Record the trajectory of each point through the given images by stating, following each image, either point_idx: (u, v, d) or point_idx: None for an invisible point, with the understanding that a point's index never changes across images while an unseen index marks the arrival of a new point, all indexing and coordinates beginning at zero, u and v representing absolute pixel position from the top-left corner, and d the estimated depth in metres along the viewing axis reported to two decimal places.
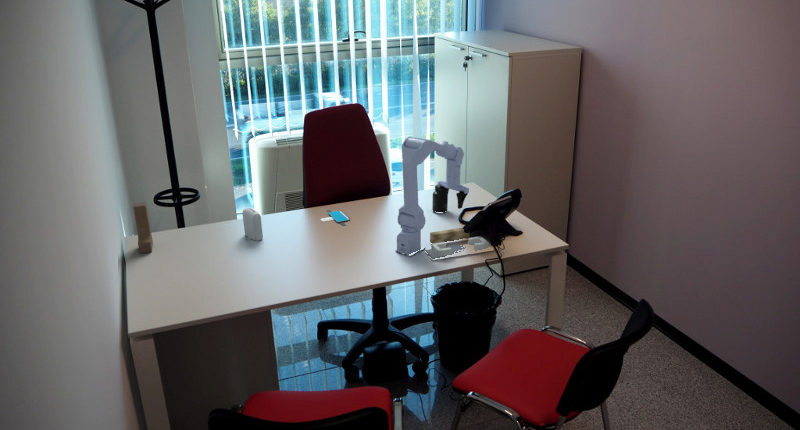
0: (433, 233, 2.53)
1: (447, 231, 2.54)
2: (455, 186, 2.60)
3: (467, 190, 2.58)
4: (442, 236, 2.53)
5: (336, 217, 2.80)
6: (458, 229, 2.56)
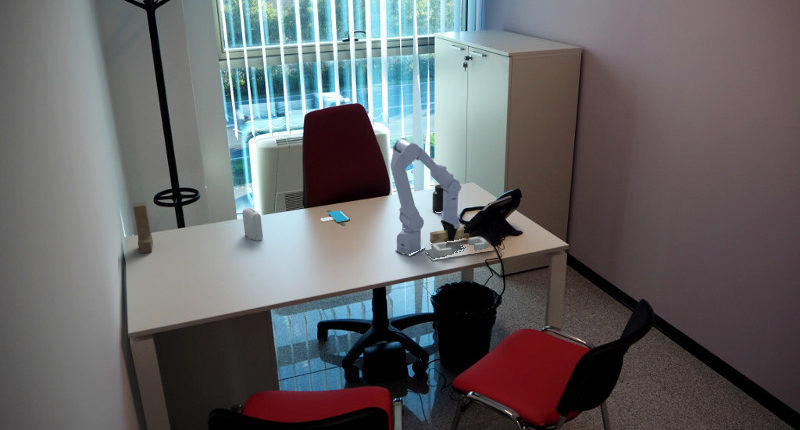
0: (433, 233, 2.53)
1: None
2: (448, 219, 2.50)
3: (457, 225, 2.47)
4: (442, 236, 2.53)
5: (336, 217, 2.80)
6: (458, 229, 2.56)
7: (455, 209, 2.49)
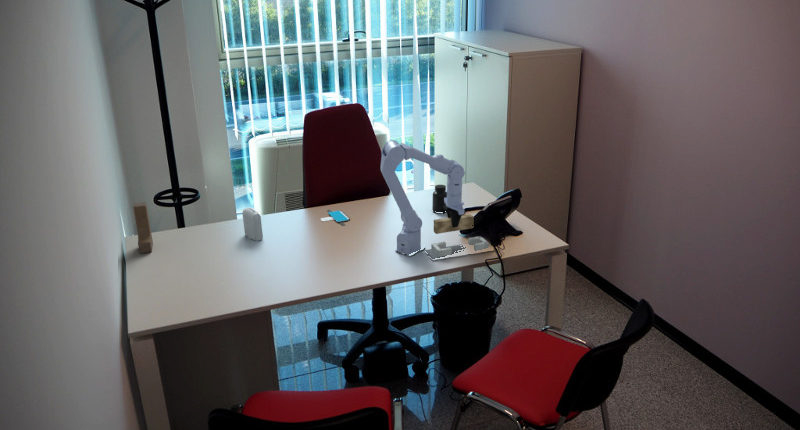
0: (437, 220, 2.47)
1: None
2: (452, 205, 2.44)
3: (461, 211, 2.41)
4: (446, 224, 2.48)
5: (336, 217, 2.80)
6: (462, 216, 2.51)
7: (459, 195, 2.44)
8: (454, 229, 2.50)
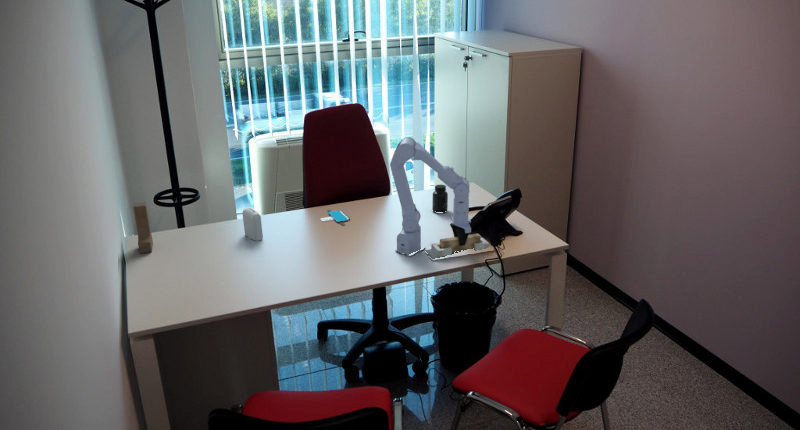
0: (443, 240, 2.44)
1: (457, 238, 2.45)
2: (459, 223, 2.40)
3: (468, 229, 2.37)
4: (452, 243, 2.44)
5: (336, 217, 2.81)
6: (469, 236, 2.47)
7: (466, 213, 2.40)
8: (460, 249, 2.46)
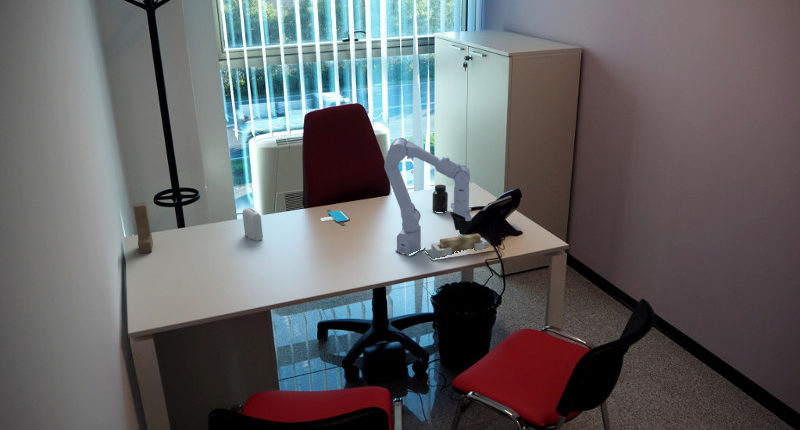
0: (443, 240, 2.44)
1: (457, 238, 2.45)
2: (459, 211, 2.39)
3: (468, 218, 2.35)
4: (452, 243, 2.44)
5: (336, 217, 2.81)
6: (469, 236, 2.47)
7: (466, 201, 2.38)
8: (460, 249, 2.46)
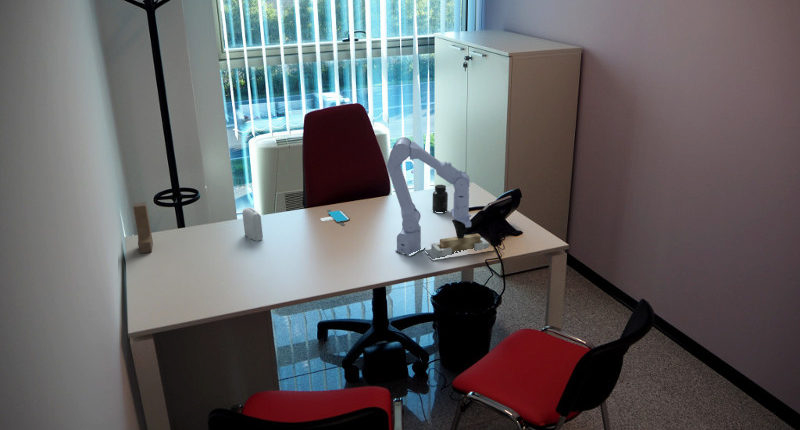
0: (443, 240, 2.44)
1: (457, 238, 2.45)
2: (459, 217, 2.40)
3: (468, 224, 2.36)
4: (452, 243, 2.44)
5: (336, 217, 2.81)
6: (469, 236, 2.47)
7: (466, 207, 2.39)
8: (460, 249, 2.46)
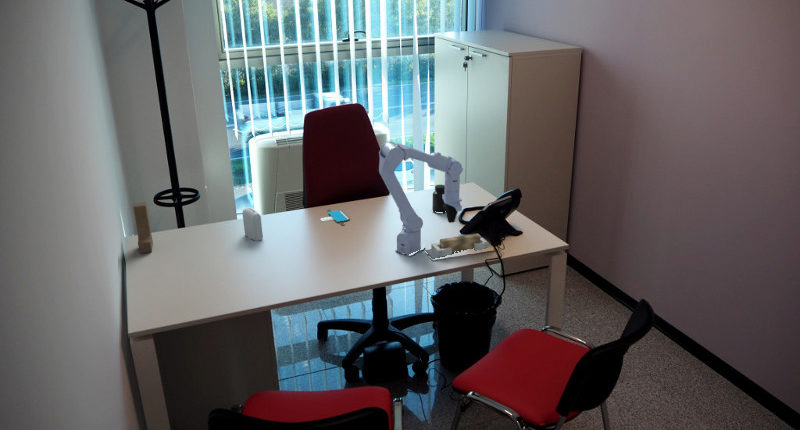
0: (443, 240, 2.44)
1: (457, 238, 2.45)
2: (450, 201, 2.45)
3: (459, 208, 2.42)
4: (452, 243, 2.44)
5: (336, 217, 2.81)
6: (469, 236, 2.47)
7: (457, 191, 2.45)
8: (460, 249, 2.46)
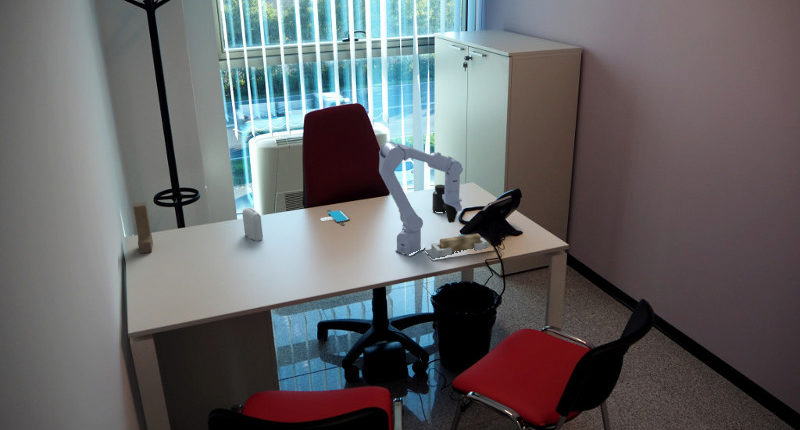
0: (443, 240, 2.44)
1: (457, 238, 2.45)
2: (450, 201, 2.45)
3: (459, 208, 2.42)
4: (452, 243, 2.44)
5: (336, 217, 2.81)
6: (469, 236, 2.47)
7: (457, 191, 2.45)
8: (460, 249, 2.46)
